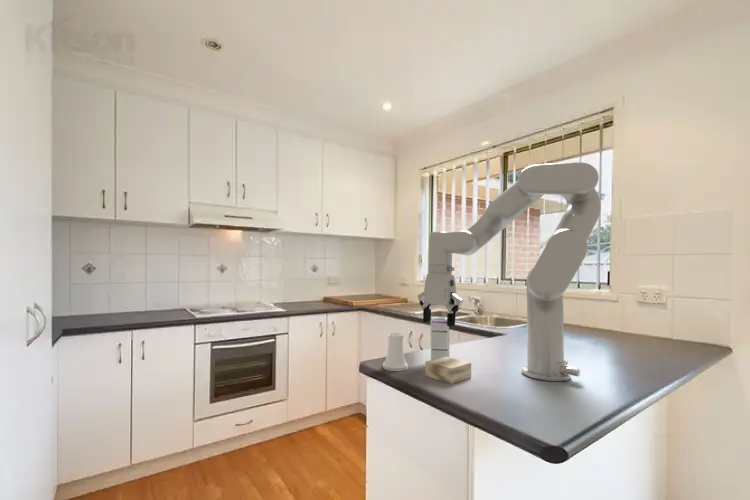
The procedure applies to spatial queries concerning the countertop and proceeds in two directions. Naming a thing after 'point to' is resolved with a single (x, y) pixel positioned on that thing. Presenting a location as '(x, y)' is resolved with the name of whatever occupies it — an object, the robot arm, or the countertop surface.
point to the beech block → (448, 369)
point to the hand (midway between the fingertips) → (438, 323)
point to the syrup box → (439, 338)
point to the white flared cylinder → (395, 353)
